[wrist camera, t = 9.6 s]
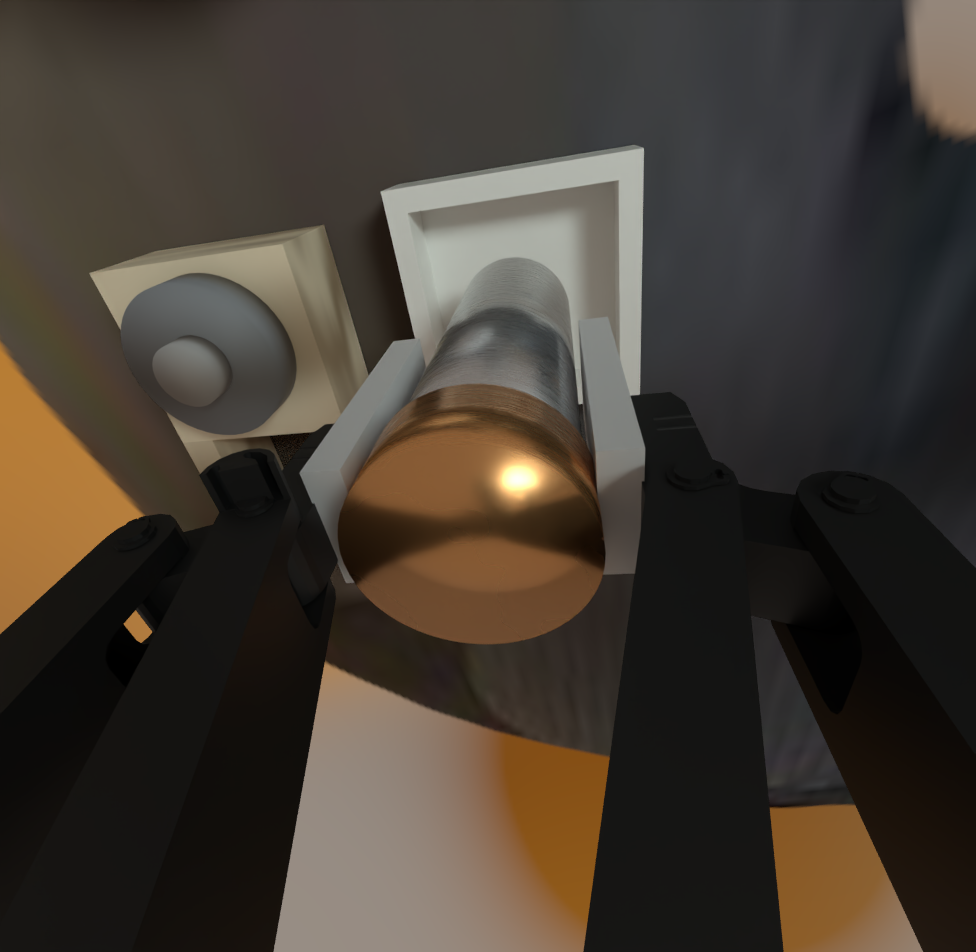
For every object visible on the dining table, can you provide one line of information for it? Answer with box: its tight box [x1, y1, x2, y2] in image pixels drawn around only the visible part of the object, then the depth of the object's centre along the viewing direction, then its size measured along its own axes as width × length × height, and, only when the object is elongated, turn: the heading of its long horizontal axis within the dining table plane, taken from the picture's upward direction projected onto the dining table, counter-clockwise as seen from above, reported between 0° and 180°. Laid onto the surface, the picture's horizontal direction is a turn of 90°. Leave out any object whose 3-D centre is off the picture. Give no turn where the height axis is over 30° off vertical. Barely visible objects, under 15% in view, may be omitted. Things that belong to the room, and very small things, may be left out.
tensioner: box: [89, 225, 369, 474], centre depth 23 cm, size 14×8×7 cm, turn 8°
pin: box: [338, 257, 606, 644], centre depth 14 cm, size 4×4×13 cm
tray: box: [381, 145, 644, 404], centre depth 21 cm, size 9×9×2 cm
